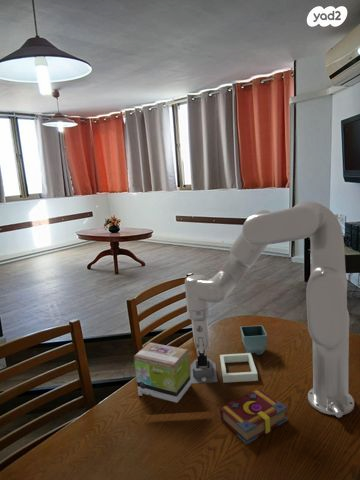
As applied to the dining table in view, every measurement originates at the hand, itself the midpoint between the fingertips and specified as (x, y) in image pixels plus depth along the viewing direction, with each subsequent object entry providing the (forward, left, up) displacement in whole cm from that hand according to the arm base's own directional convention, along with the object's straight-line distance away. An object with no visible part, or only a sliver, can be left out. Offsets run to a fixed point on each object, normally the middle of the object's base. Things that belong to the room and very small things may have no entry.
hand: (202, 360), depth 121 cm
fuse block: (0, 0, -6) cm, 6 cm away
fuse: (0, 0, -4) cm, 4 cm away
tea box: (-8, +13, -6) cm, 16 cm away
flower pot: (+14, -20, -6) cm, 25 cm away
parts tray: (0, -12, -6) cm, 13 cm away
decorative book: (-23, -14, -6) cm, 27 cm away
